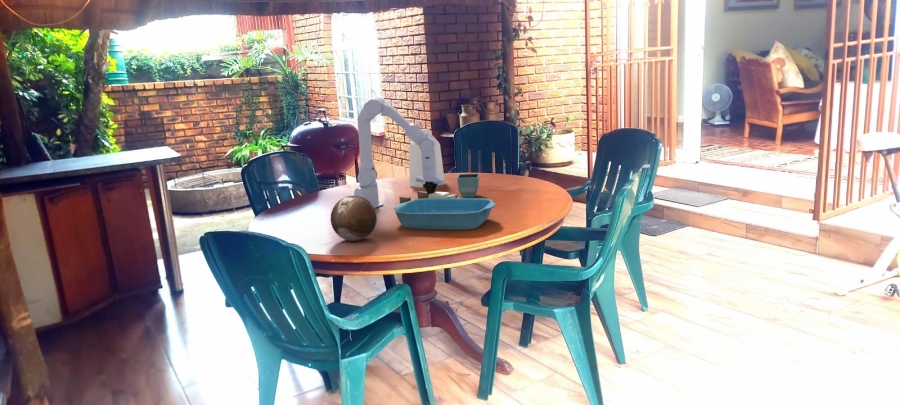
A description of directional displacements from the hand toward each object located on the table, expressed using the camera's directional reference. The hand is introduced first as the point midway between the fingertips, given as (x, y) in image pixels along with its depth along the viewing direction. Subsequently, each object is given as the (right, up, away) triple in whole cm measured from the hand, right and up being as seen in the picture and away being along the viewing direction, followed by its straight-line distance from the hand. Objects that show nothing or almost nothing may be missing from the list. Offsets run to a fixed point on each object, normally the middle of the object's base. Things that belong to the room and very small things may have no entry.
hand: (431, 200), depth 256 cm
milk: (-3, +7, +41) cm, 42 cm away
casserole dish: (+6, -9, -31) cm, 33 cm away
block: (+3, -2, -2) cm, 4 cm away
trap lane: (-2, -1, +2) cm, 3 cm away
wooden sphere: (-24, -14, -45) cm, 53 cm away
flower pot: (+16, +1, +9) cm, 18 cm away
